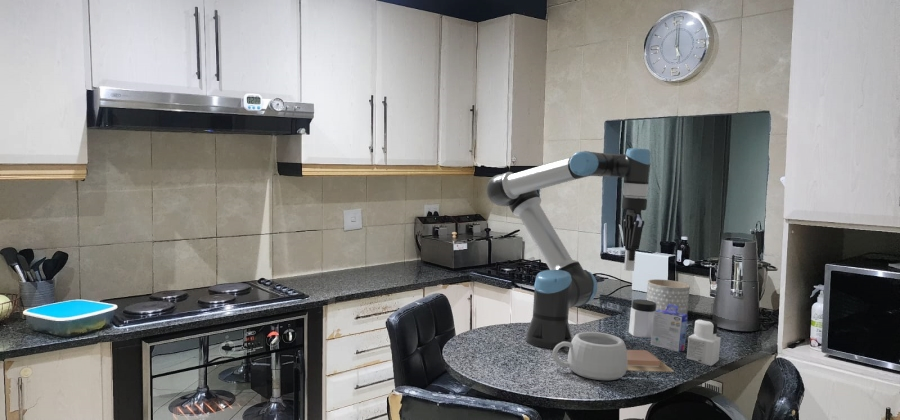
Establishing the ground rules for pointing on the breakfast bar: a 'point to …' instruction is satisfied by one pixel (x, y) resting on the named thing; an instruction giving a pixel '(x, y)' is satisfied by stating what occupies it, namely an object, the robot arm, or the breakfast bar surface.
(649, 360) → the tile
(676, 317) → the ink cartridge box
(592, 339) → the mug
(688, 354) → the container
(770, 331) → the breakfast bar surface
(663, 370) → the plate
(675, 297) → the planter
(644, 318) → the jar
